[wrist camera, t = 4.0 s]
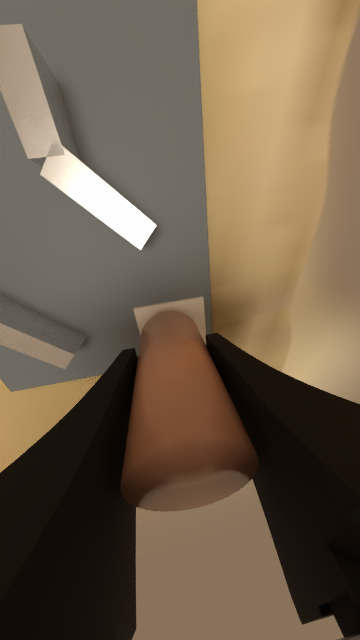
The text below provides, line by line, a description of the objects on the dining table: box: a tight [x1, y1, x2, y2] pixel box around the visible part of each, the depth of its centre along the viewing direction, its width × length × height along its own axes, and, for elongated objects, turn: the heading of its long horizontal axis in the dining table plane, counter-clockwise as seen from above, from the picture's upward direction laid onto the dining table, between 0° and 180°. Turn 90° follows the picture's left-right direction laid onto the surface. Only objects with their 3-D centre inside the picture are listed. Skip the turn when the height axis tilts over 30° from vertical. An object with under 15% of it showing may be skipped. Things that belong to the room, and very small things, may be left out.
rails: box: [0, 24, 156, 369], centre depth 8 cm, size 12×12×2 cm
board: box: [0, 0, 213, 392], centre depth 8 cm, size 20×15×1 cm
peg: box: [120, 311, 259, 511], centre depth 8 cm, size 4×4×7 cm
